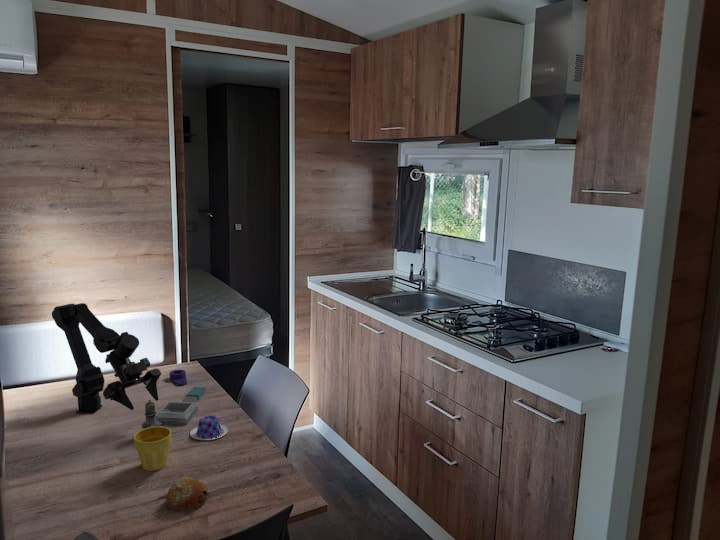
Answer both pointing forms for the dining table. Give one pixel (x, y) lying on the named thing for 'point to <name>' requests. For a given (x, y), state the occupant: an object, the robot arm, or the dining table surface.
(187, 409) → the square frying pan
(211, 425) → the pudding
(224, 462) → the dining table surface
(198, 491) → the bread roll
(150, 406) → the chess piece
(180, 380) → the lever
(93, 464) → the dining table surface
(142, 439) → the plant pot
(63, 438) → the dining table surface
